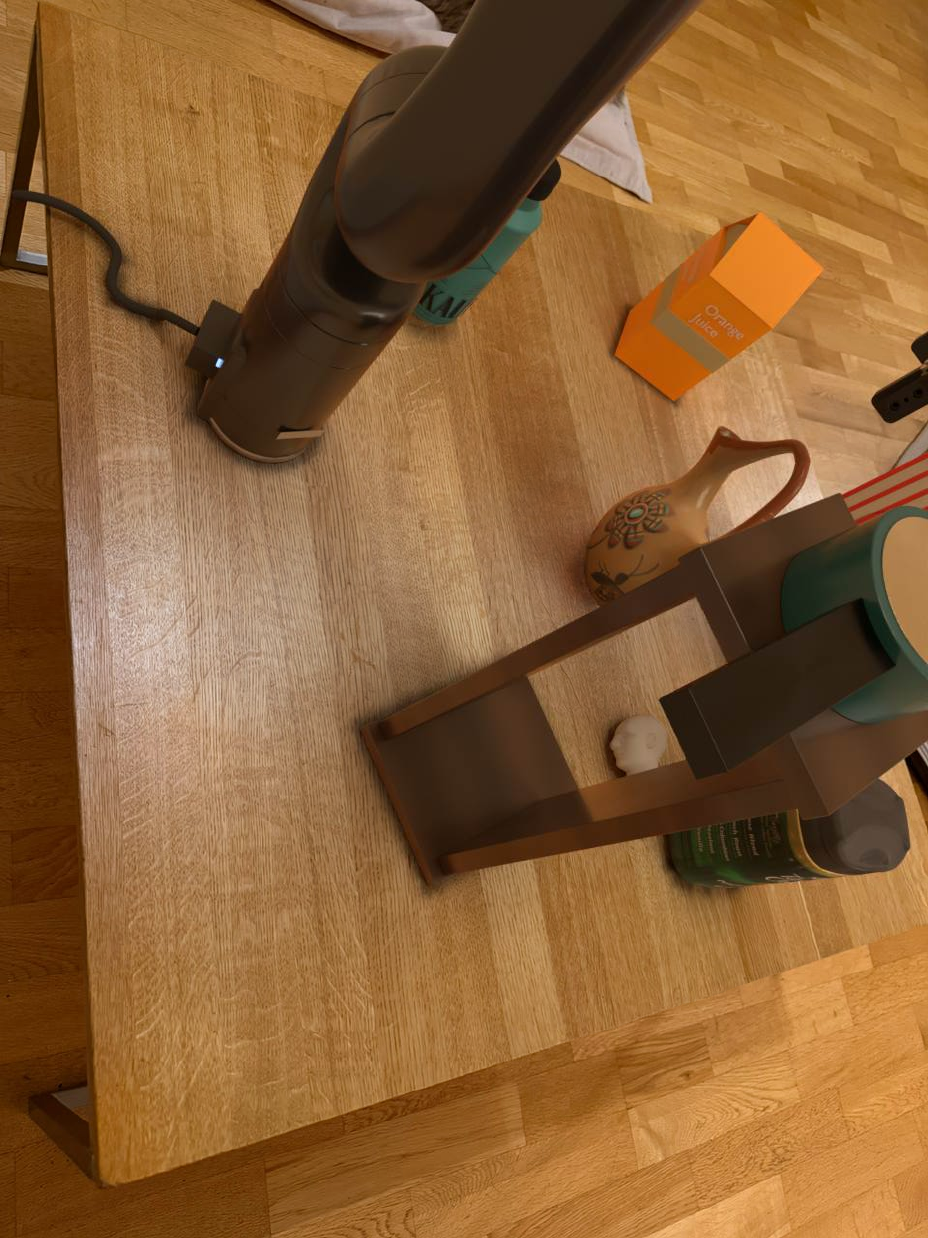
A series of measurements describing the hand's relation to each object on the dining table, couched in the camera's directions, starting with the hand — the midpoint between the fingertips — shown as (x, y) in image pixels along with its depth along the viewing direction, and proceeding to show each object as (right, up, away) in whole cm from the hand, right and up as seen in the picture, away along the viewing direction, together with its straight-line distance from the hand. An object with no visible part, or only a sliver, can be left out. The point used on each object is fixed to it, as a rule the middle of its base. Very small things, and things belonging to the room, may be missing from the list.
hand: (899, 382), depth 63 cm
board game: (+1, -19, +35) cm, 40 cm away
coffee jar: (-7, -37, +23) cm, 44 cm away
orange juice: (-8, +13, +42) cm, 45 cm away
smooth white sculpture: (-15, -29, +21) cm, 39 cm away
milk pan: (-15, -18, -21) cm, 31 cm away
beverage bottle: (-33, +14, +26) cm, 45 cm away
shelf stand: (-28, -28, +13) cm, 42 cm away
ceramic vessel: (-16, -12, +27) cm, 34 cm away
